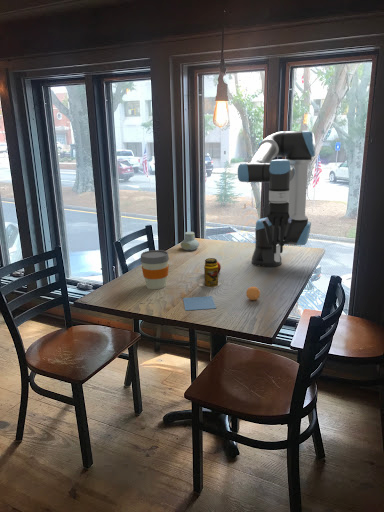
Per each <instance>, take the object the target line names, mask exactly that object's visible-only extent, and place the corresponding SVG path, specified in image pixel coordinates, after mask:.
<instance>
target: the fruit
mask: <svg viewBox="0 0 384 512" xmlns="http://www.w3.org/2000/svg"><path fill="white" fill-rule="evenodd" d="M217 265H218V275H219V274H220V273H221V268H222V267H221V263H220V262H219V261H218V260H217Z"/></svg>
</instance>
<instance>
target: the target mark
mask: <svg viewBox="0 0 384 512" xmlns="http://www.w3.org/2000/svg"><path fill="white" fill-rule="evenodd" d="M182 299H183V304H184V310H185V311H187V312H188V311H201V310H212V309H217V306H216V304H215V301H214V298H213V296H212V295H206V296H195V297H193V296H191V297H183V298H182Z"/></svg>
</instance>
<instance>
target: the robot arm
mask: <svg viewBox="0 0 384 512" xmlns="http://www.w3.org/2000/svg"><path fill="white" fill-rule="evenodd" d="M315 156H316V140H315V135H314V132H313V131H311V130H294V131H293V130H291V131H290V130H288V131H277V132H275V133H272V134H270V135H267V137H265V138H264V139H262V140H261V141H260V143H259V145H258V147H257V150H256V152H255V153H254V155H253V156H252V157H251V159H250V160H249V162H248V163H247V162H245V163H244V162H243V163H240V164H239V165H238V167H237V179H238V182H241V183H247V184H248V183H269V184H268V185H269V186H268V187H269V188H268V201H269V202H268V214H267V217H262V218H259V219H257V221H256V222H255V229H254V231H255V233H254V234H255V235H254V236H255V239H254V240H255V241H254V242H255V246H254V247H255V248H254V251H253V253H252V257H251V264H253V265H255V266H258V267H264V268H266V267H267V268H268V267H269V268H270V267H271V268H272V267H276V266H277V267H278V266H280V265H281V264H282V255H281V254H282V253H283V249H284V246H285V245H287V246H288V245H291V246H295V247H296V246H306V244H307V243H308V241H309V240H308V239H309V236H310V234H311V233H310V232H311V228H312V227H311V226H312V223H311V221H309V218H308V216H307V215H306V206H307V205H306V203H307V200H306V199H307V186H308V172H309V171H308V170H309V169H308V167H309V164H310V163H311V162H312V159H313V158H314V157H315ZM285 157H286V159H285ZM275 158H279V159H275ZM280 158H281V159H280ZM282 158H284V159H282Z"/></svg>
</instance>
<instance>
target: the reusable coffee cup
mask: <svg viewBox="0 0 384 512" xmlns="http://www.w3.org/2000/svg"><path fill="white" fill-rule="evenodd" d="M169 260H170V257H169V253H168V251H166V250H162V249H154V250H153V249H151V250H145V251H143V252H141V253H140V262H141V265H142V266H141V270H142V275H143V277H144V280H145V284H146V289H147V288H148V289H150V290H160V289H164V288H165V287H166V286H167V278H168V275H169V266H170V265H169Z"/></svg>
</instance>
